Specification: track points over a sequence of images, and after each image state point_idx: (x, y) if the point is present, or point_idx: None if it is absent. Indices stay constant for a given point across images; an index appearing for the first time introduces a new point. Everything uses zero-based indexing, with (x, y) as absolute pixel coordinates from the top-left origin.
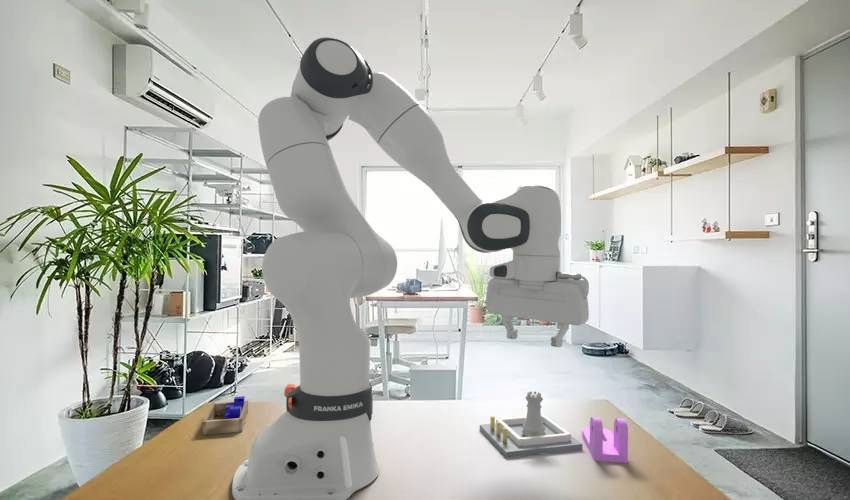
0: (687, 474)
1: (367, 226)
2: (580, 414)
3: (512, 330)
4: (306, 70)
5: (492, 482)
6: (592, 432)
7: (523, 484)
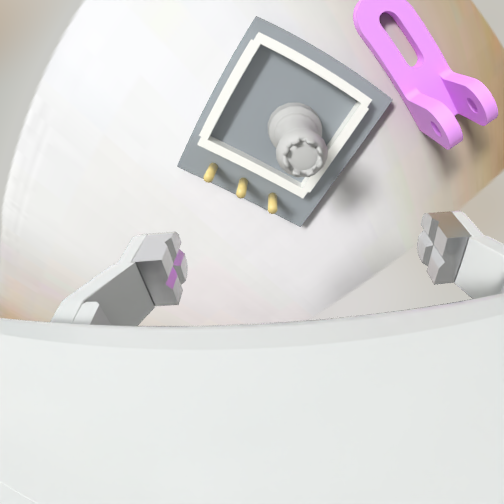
0: None
1: None
2: None
3: (168, 300)
4: None
5: (326, 285)
6: (433, 129)
7: (361, 265)
